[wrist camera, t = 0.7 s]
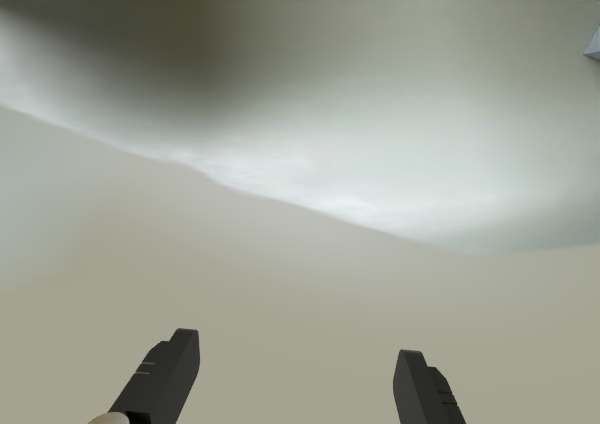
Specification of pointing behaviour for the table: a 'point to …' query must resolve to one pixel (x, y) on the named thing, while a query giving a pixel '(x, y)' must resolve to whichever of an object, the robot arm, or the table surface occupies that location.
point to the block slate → (594, 46)
